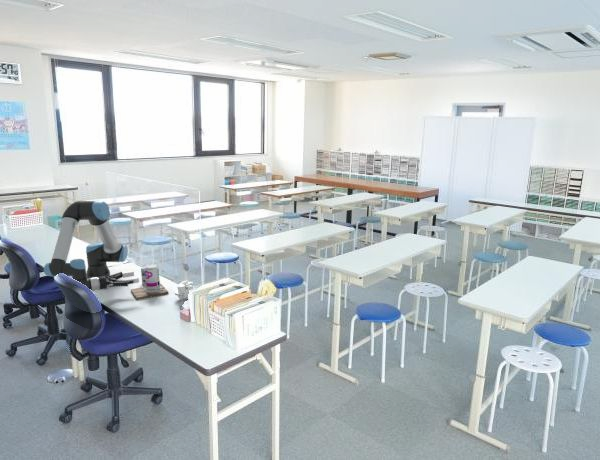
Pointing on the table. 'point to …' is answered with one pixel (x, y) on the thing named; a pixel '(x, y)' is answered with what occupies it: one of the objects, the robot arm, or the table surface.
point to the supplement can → (152, 277)
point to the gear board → (148, 292)
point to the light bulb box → (144, 274)
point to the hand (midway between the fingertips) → (136, 276)
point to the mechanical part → (184, 289)
